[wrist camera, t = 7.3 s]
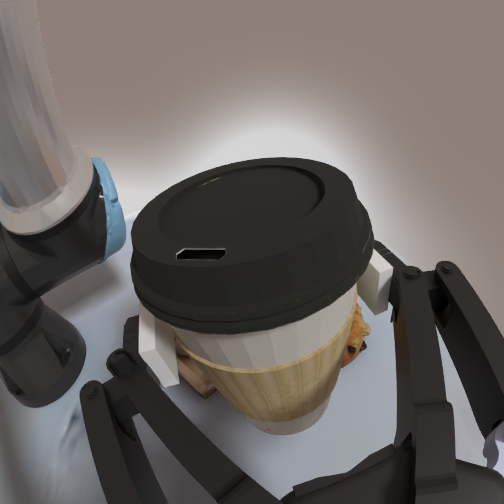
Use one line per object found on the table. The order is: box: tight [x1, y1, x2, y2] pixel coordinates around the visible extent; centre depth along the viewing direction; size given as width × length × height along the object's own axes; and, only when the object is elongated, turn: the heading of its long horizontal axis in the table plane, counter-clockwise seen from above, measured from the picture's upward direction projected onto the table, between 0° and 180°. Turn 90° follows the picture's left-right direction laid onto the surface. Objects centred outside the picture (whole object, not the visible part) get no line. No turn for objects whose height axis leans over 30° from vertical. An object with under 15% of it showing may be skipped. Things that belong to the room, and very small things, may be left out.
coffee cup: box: [130, 157, 374, 435], centre depth 15 cm, size 10×10×15 cm
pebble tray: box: [174, 336, 217, 399], centre depth 33 cm, size 12×8×3 cm, turn 45°
